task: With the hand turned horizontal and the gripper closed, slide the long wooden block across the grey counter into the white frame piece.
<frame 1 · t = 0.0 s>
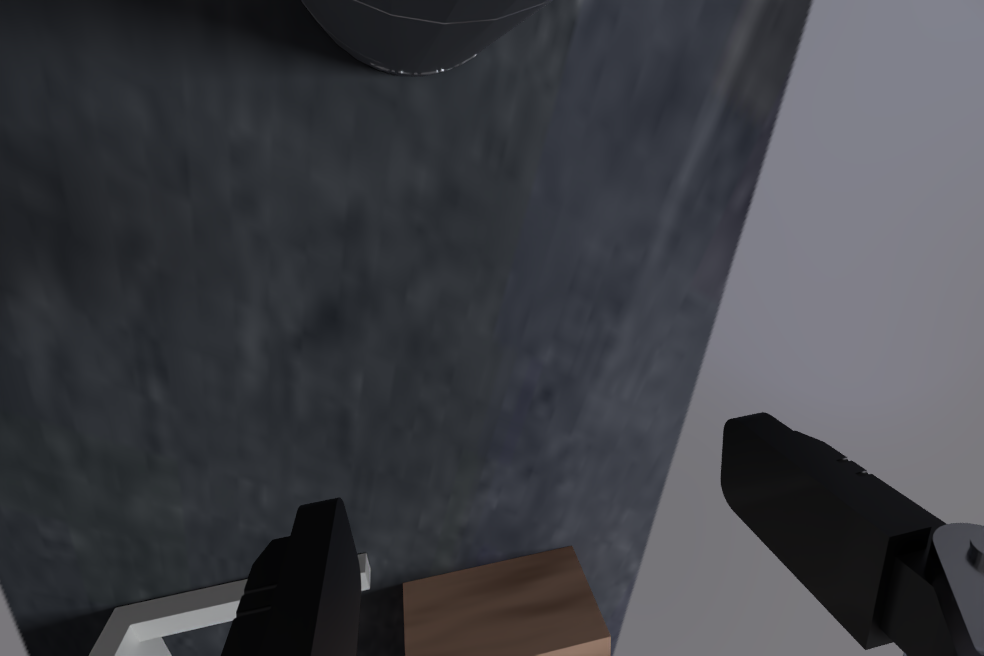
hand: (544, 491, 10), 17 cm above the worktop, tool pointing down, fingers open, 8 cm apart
white frame piece: (288, 653, 34), on the worktop
wooden block: (493, 601, 36), on the worktop
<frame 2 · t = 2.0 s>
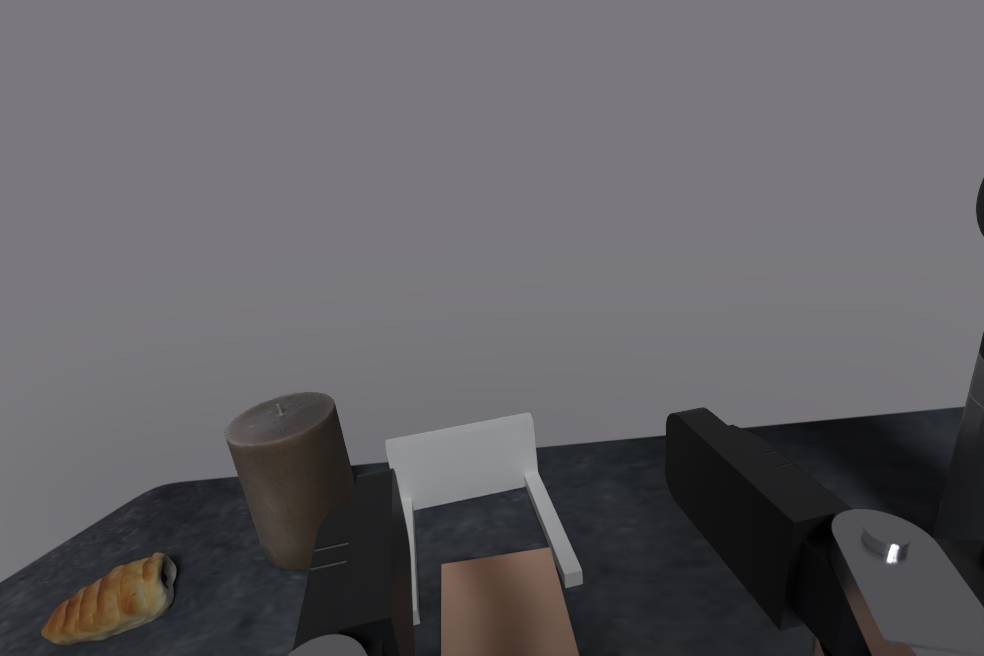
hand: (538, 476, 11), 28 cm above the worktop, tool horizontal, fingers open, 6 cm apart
pastry: (128, 612, 44), on the worktop
white frame piece: (480, 544, 46), on the worktop
pillar candle: (316, 534, 50), on the worktop
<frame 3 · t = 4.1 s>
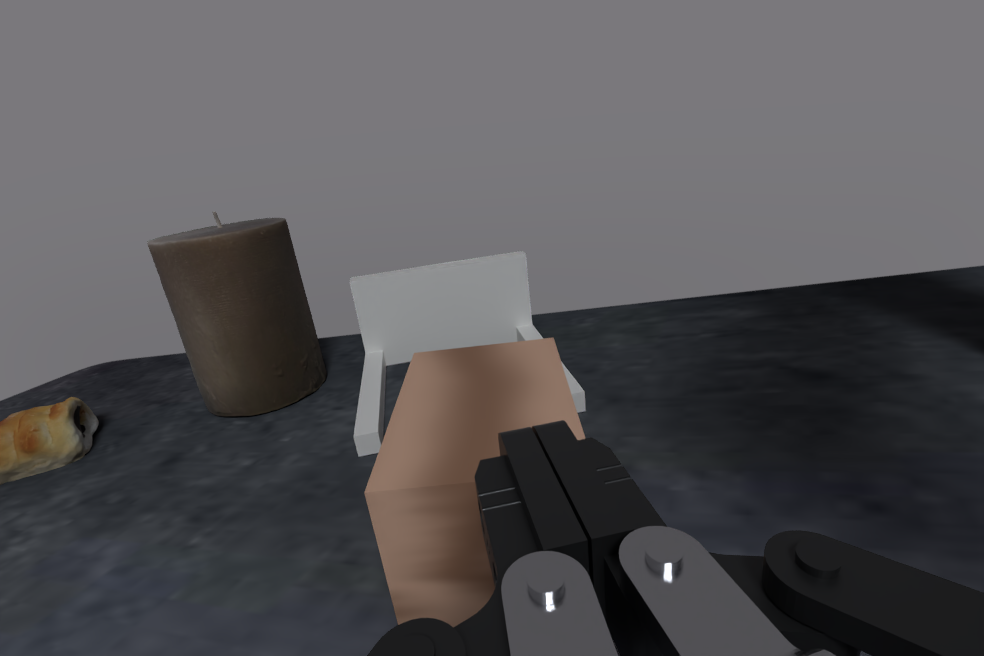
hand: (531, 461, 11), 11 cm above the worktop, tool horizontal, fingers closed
pastry: (33, 464, 36), on the worktop
white frame piece: (462, 387, 39), on the worktop
pillar candle: (269, 390, 43), on the worktop
wooden block: (498, 518, 25), on the worktop
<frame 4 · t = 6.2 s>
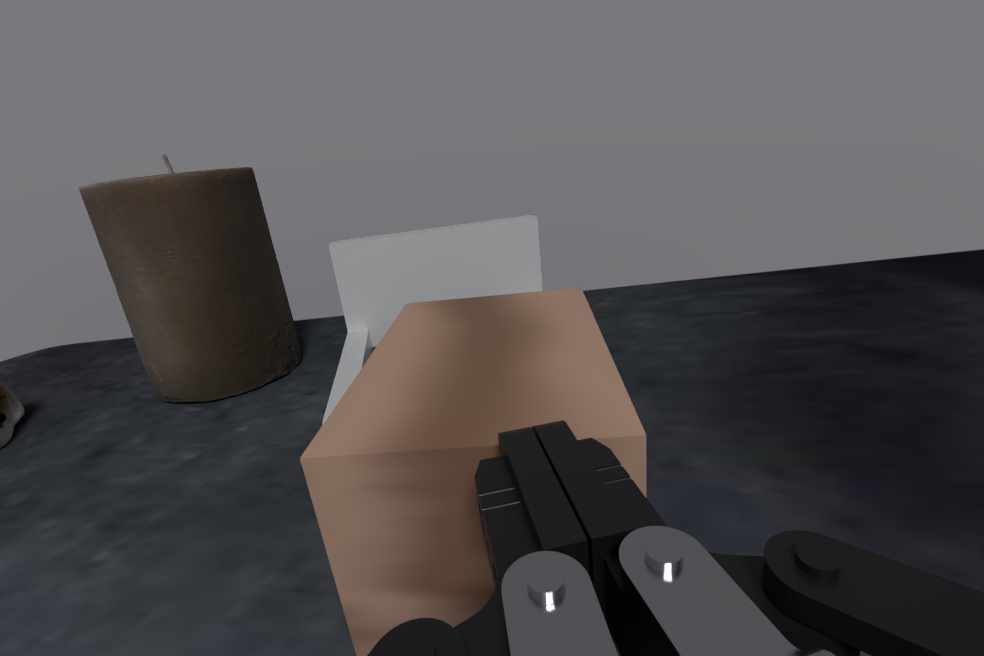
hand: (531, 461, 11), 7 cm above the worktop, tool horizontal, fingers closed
white frame piece: (461, 369, 32), on the worktop
pillar candle: (233, 374, 36), on the worktop
wooden block: (504, 511, 19), on the worktop, touching gripper
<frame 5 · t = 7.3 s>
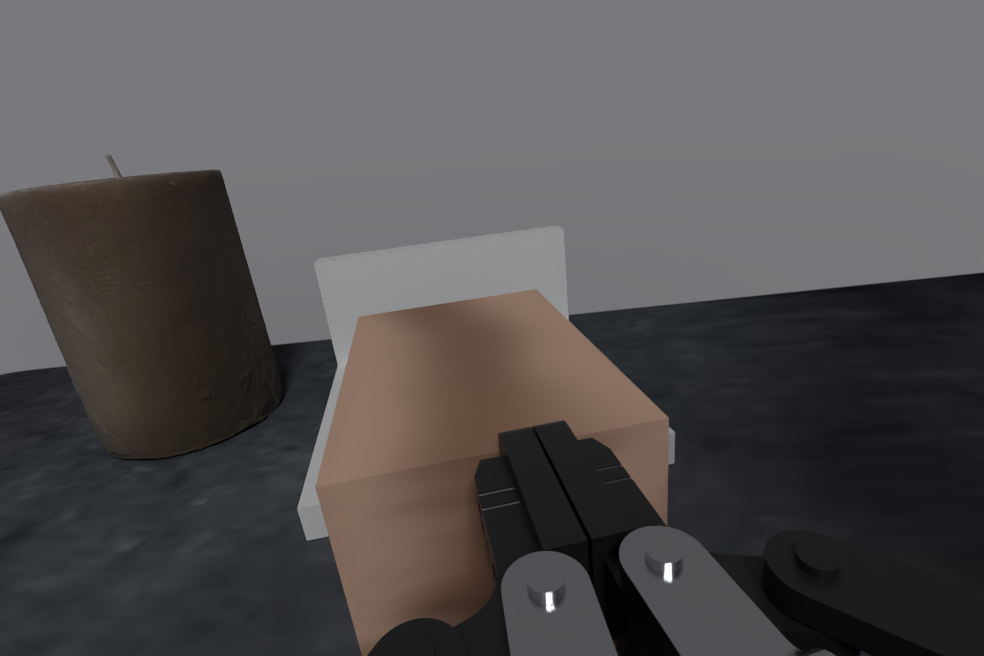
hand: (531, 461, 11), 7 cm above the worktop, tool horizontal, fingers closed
white frame piece: (475, 417, 26), on the worktop
pillar candle: (201, 417, 30), on the worktop
wooden block: (489, 519, 19), on the worktop
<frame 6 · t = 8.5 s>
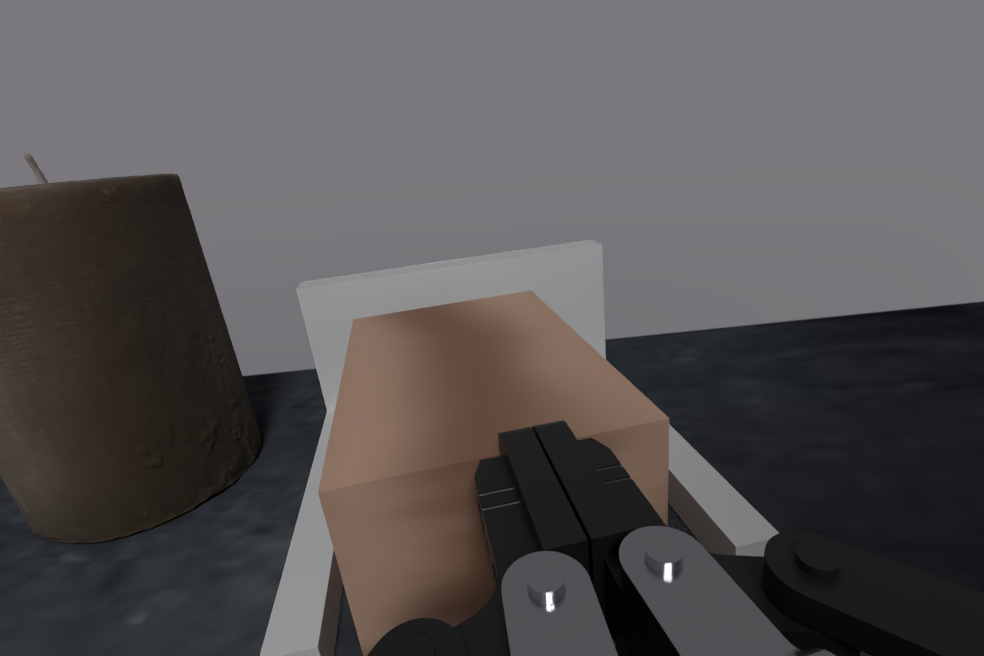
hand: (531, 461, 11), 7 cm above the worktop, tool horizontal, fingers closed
white frame piece: (498, 487, 21), on the worktop
pillar candle: (159, 476, 25), on the worktop
wooden block: (487, 521, 19), on the worktop, touching gripper
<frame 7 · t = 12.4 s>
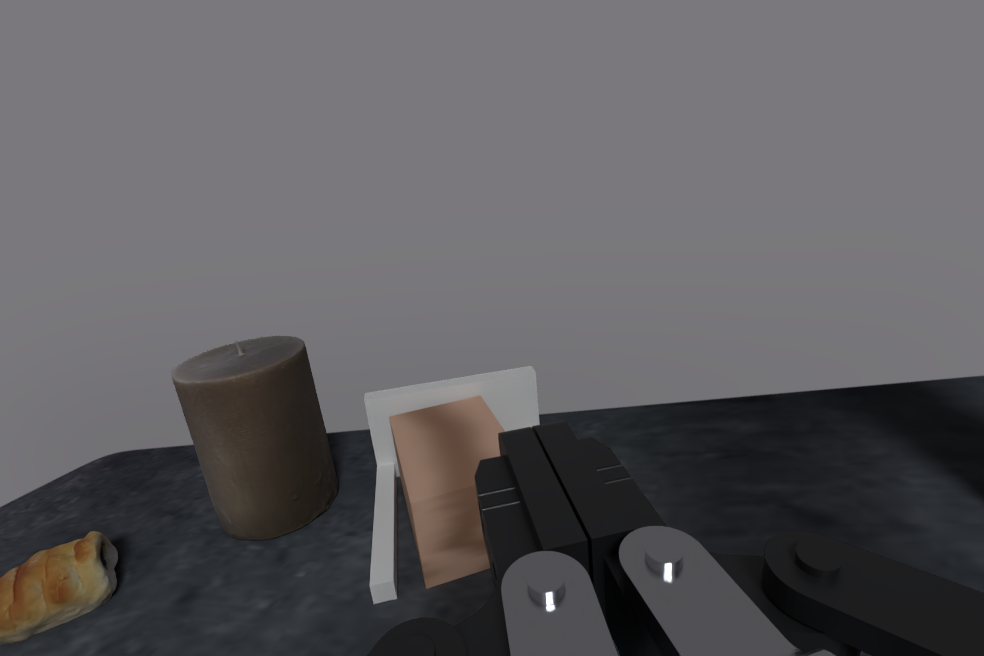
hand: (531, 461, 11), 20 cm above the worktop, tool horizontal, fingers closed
pastry: (54, 608, 35), on the worktop
white frame piece: (473, 512, 39), on the worktop
pillar candle: (281, 503, 43), on the worktop
wooden block: (462, 516, 39), on the worktop
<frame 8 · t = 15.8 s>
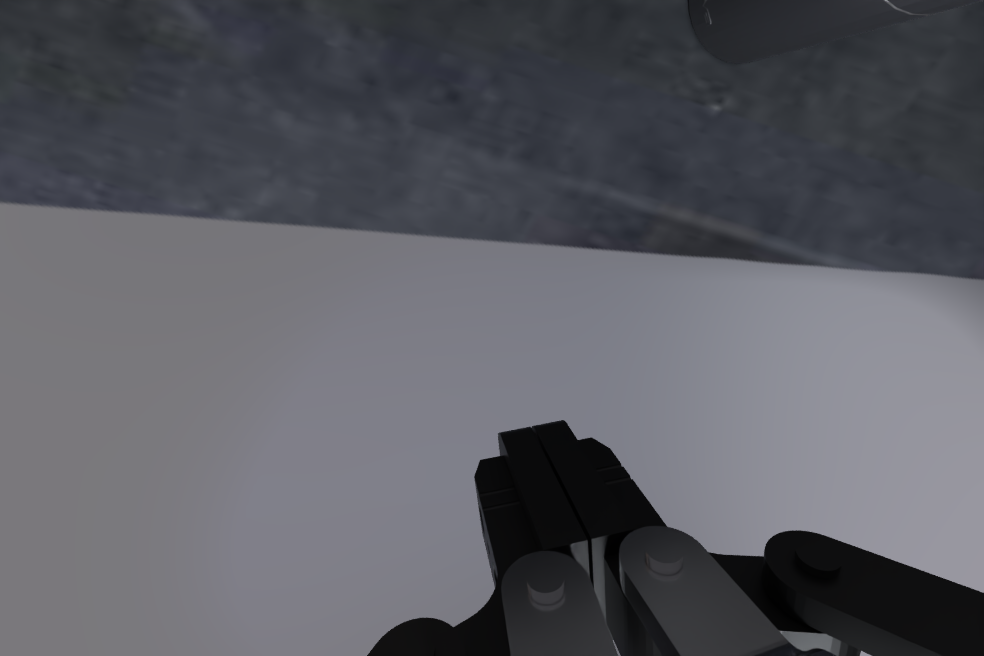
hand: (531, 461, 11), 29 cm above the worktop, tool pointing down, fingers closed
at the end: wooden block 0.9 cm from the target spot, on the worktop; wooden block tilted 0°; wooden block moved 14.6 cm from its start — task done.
